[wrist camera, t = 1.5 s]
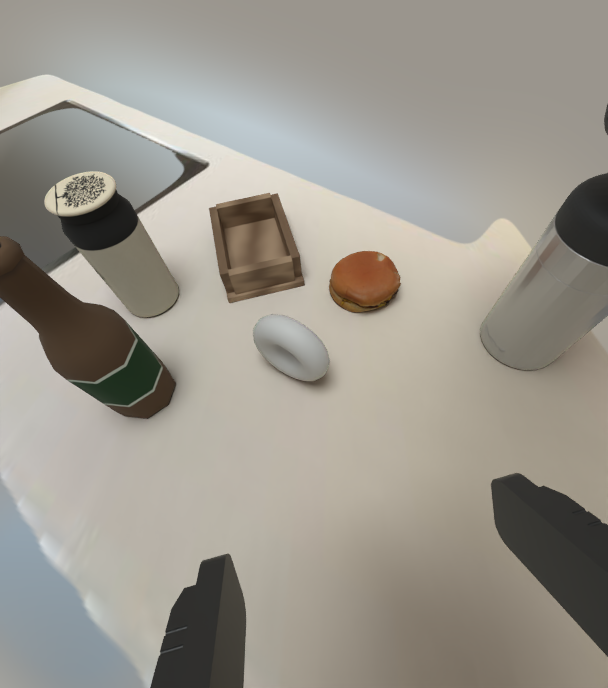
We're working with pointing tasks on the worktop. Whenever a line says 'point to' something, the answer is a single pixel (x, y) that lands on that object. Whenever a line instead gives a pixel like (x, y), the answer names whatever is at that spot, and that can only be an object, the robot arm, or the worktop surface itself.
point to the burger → (364, 281)
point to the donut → (291, 347)
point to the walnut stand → (255, 247)
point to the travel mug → (113, 241)
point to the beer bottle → (85, 339)
